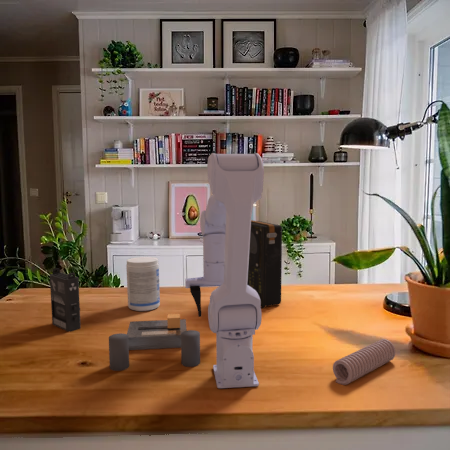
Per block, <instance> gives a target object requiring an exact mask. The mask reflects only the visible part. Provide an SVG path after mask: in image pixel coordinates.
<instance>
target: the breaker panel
mask: <svg viewBox="0 0 450 450" xmlns="http://www.w3.org/2000/svg"><path fill="white" fill-rule="evenodd" d="M128 324H129V326H128V328H127V332H126V334H127V335H128V342H129V351H137V350H140V351H141V350H155V349H156V350H157V349H175V348H176V349H177V348H178V349H179V348H180V349H181V333H182V332H184V331H188V330H187V319H185V318H182V319H181V318H180V328H168V319H160V320H138V321H135V320H134V321H129V323H128Z"/></svg>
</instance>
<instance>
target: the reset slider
mask: <svg viewBox="0 0 450 450" xmlns="http://www.w3.org/2000/svg"><path fill="white" fill-rule="evenodd" d="M166 318H167V319H166V320H168V328H180V319H181V313H170V314H169V313H168V314H167V317H166Z"/></svg>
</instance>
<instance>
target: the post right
mask: <svg viewBox="0 0 450 450" xmlns="http://www.w3.org/2000/svg"><path fill="white" fill-rule="evenodd" d="M180 353H181V354H180V358H181V359H180V360H181V361H180V362H181V363H180V364H181V365H182V366H184V367H187V368H192V367H193V368H194V367H196V366H199V365H201V333H200V331H198V330H192V329H190V330H187V331H184V332H182V333H181V348H180Z"/></svg>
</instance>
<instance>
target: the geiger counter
mask: <svg viewBox="0 0 450 450" xmlns="http://www.w3.org/2000/svg"><path fill="white" fill-rule="evenodd" d="M60 269H61V268H60V267H59V268H53V269H52V274H51V273H50V274H49V285H50V286H49V288H50V290H49V291H50V303H51V304H50V306H51V307H50V308H51V322H52V323H51V325H53V326H54V327H57V328H60V329H61V330H63V331H65V332H74V331H76V330H77V331H78V330H81V328H82V327H81V306H80V305H81V304H80V286H79V285H80V284H79V283H80V282H79V277H78V276H76V272H71V273H66V274H65V273H64V272H61V270H60Z"/></svg>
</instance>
